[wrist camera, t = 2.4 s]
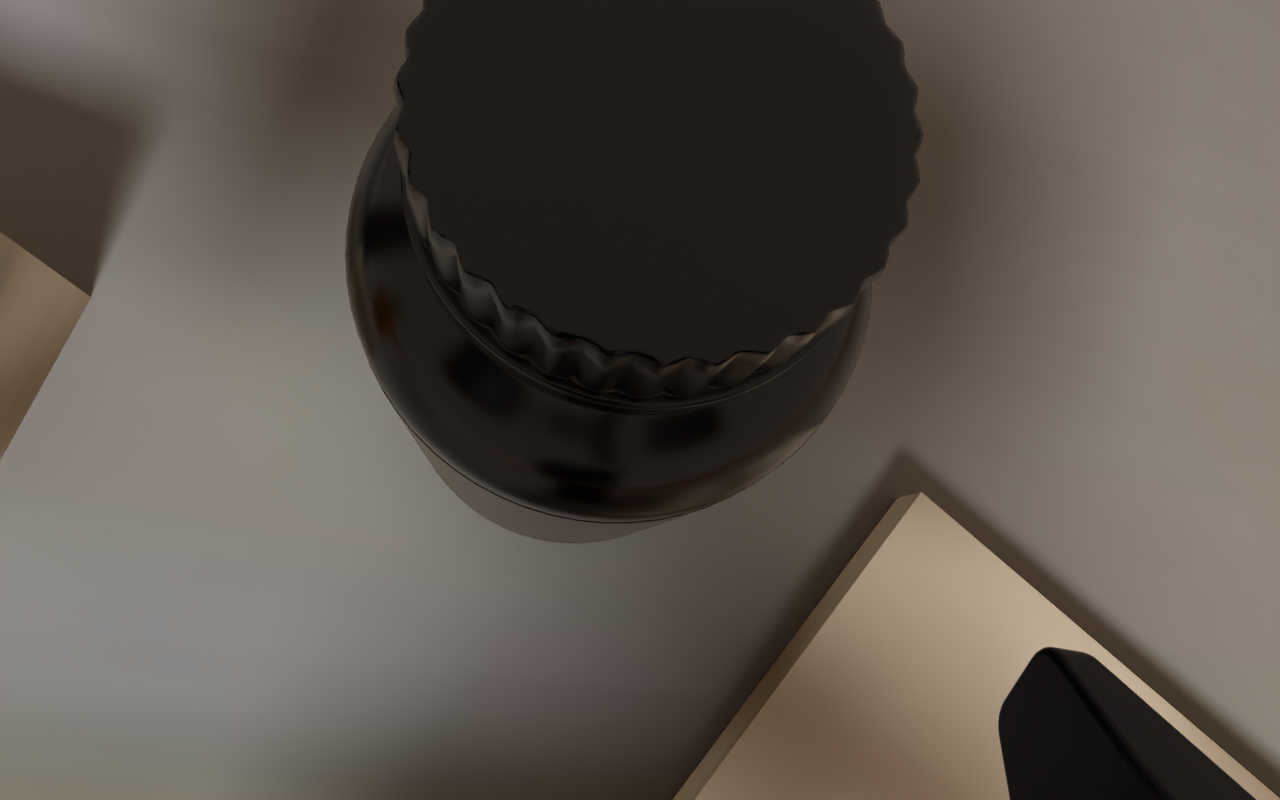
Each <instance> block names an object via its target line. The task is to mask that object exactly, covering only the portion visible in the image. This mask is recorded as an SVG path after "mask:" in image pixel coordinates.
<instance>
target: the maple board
mask: <svg viewBox="0 0 1280 800" xmlns="http://www.w3.org/2000/svg"><path fill="white" fill-rule="evenodd" d="M1045 647H1056V648H1062V649H1068V650H1074V651H1080V652H1084V653H1087V654H1090V655H1091V656H1093V657H1095V658H1096V659H1097V660H1099V661H1100V662H1101V663H1102V664H1103V665H1104V666H1105V667H1106V668H1108V669H1109V670H1110V671H1111V672H1112V673H1113V674H1114V675H1116V676H1117V677H1118V678H1119V679H1120V680H1121V681H1122V682H1123V683H1125V684H1126V685H1127V686H1128V687H1129V688H1130V689H1131V690H1133V691H1134V692H1135V693H1136V694H1137V695H1138V696H1139V697H1141V698H1142V699H1143V700H1144V701H1145V702H1146V703H1147V704H1148V705H1150V706H1151V707H1152V708H1153V709H1154V710H1155V711H1156V712H1158V713H1159V714H1160V715H1161V716H1162V717H1163V718H1164V719H1165V720H1167V721H1168V722H1169V723H1170V724H1171V725H1172V726H1173V727H1175V728H1176V729H1177V730H1178V731H1179V732H1180V733H1181V734H1183V735H1184V736H1185V737H1186V738H1187V739H1188V740H1189V741H1190V742H1192V743H1193V744H1194V745H1195V746H1196V747H1197V748H1198V749H1200V750H1201V751H1202V752H1203V753H1204V754H1205V755H1206V756H1207V757H1209V758H1210V759H1211V760H1212V761H1213V762H1214V763H1215V764H1217V765H1218V766H1219V767H1220V768H1221V769H1222V770H1223V771H1225V772H1226V773H1227V774H1228V775H1229V776H1230V777H1231V778H1232V779H1234V780H1235V781H1236V782H1237V783H1238V784H1239V785H1240V786H1242V787H1243V788H1244V789H1245V790H1246V791H1247V792H1248V793H1250V794H1251V795H1252V796H1253V797H1254V798H1255V799H1256V800H1280V798H1279V797H1278V796H1276V795H1275V794H1274V793H1273V792H1272V791H1271V790H1269V789H1268V788H1267V787H1266V786H1265V785H1264V784H1262V783H1261V782H1260V781H1259V780H1258V779H1257V778H1255V777H1254V776H1253V775H1252V774H1251V773H1250V772H1248V771H1247V770H1246V769H1245V768H1244V767H1243V766H1241V765H1240V764H1239V763H1238V762H1237V761H1235V760H1234V759H1233V758H1232V757H1231V756H1230V755H1228V754H1227V753H1226V752H1225V751H1224V750H1223V749H1221V748H1220V747H1219V746H1218V745H1217V744H1216V743H1214V742H1213V741H1212V740H1211V739H1210V738H1209V737H1207V736H1206V735H1205V734H1204V733H1203V732H1202V731H1200V730H1199V729H1198V728H1197V727H1196V726H1195V725H1193V724H1192V723H1191V722H1190V721H1189V720H1188V719H1186V718H1185V717H1184V716H1183V715H1182V714H1181V713H1179V712H1178V711H1177V710H1176V709H1175V708H1174V707H1172V706H1171V705H1170V704H1169V703H1168V702H1167V701H1165V700H1164V699H1163V698H1162V697H1161V696H1159V695H1158V694H1157V693H1156V692H1155V691H1154V690H1152V689H1151V688H1150V687H1149V686H1148V685H1147V684H1145V683H1144V682H1143V681H1142V680H1141V679H1140V678H1138V677H1137V676H1136V675H1135V674H1134V673H1133V672H1131V671H1130V670H1129V669H1128V668H1127V667H1126V666H1124V665H1123V664H1122V663H1121V662H1120V661H1119V660H1117V659H1116V658H1115V657H1114V656H1113V655H1112V654H1110V653H1109V652H1108V651H1107V650H1106V649H1105V648H1103V647H1102V646H1101V645H1100V644H1099V643H1098V642H1096V641H1095V640H1094V639H1093V638H1092V637H1090V636H1089V635H1088V634H1087V633H1086V632H1085V631H1083V630H1082V629H1081V628H1080V627H1079V626H1078V625H1076V624H1075V623H1074V622H1073V621H1072V620H1071V619H1069V618H1068V617H1067V616H1066V615H1065V614H1064V613H1062V612H1061V611H1060V610H1059V609H1058V608H1057V607H1055V606H1054V605H1053V604H1052V603H1051V602H1050V601H1048V600H1047V599H1046V598H1045V597H1044V596H1043V595H1041V594H1040V593H1039V592H1038V591H1037V590H1036V589H1034V588H1033V587H1032V586H1031V585H1030V584H1029V583H1027V582H1026V581H1025V580H1024V579H1023V578H1022V577H1020V576H1019V575H1018V574H1017V573H1016V572H1014V571H1013V570H1012V569H1011V568H1010V567H1009V566H1007V565H1006V564H1005V563H1004V562H1003V561H1002V560H1000V559H999V558H998V557H997V556H996V555H995V554H993V553H992V552H991V551H990V550H989V549H988V548H986V547H985V546H984V545H983V544H982V543H981V542H979V541H978V540H977V539H976V538H975V537H974V536H972V535H971V534H970V533H969V532H968V531H967V530H965V529H964V528H963V527H962V526H961V525H960V524H958V523H957V522H956V521H955V520H954V519H953V518H951V517H950V516H949V515H948V514H947V513H945V512H944V511H943V510H942V509H941V508H940V507H938V506H937V505H936V504H935V503H934V502H933V501H931V500H930V499H929V498H928V497H927V496H926V495H924V494H923V493H922V492H919V493H915V494H911V495H906V496H902V497H898V498H897V499H896V500H895V501H894V503H893V504H892V505H891V507H890V508H889V509H888V511H887V512H886V513H885V515H884V516H883V517H882V519H881V520H880V521H879V523H878V524H877V525H876V527H875V528H874V530H873V531H872V532H871V534H870V535H869V536H868V538H867V539H866V540H865V542H864V543H863V544H862V546H861V547H860V548H859V550H858V551H857V552H856V554H855V555H854V556H853V558H852V559H851V560H850V562H849V563H848V564H847V566H846V567H845V568H844V570H843V571H842V573H841V574H840V575H839V577H838V578H837V579H836V581H835V582H834V583H833V585H832V586H831V587H830V589H829V590H828V591H827V593H826V594H825V595H824V597H823V598H822V599H821V601H820V602H819V603H818V605H817V606H816V607H815V609H814V610H813V611H812V613H811V614H810V616H809V617H808V618H807V620H806V621H805V622H804V624H803V625H802V626H801V628H800V629H799V630H798V632H797V633H796V634H795V636H794V637H793V638H792V640H791V641H790V642H789V644H788V645H787V646H786V648H785V649H784V650H783V652H782V653H781V654H780V656H779V657H778V659H777V660H776V661H775V663H774V664H773V665H772V667H771V668H770V669H769V671H768V672H767V673H766V675H765V676H764V677H763V679H762V680H761V681H760V683H759V684H758V685H757V687H756V688H755V689H754V691H753V692H752V693H751V695H750V696H749V697H748V699H747V700H746V702H745V703H744V704H743V706H742V707H741V708H740V710H739V711H738V712H737V714H736V715H735V716H734V718H733V719H732V720H731V722H730V723H729V724H728V726H727V727H726V728H725V730H724V731H723V732H722V734H721V735H720V736H719V738H718V739H717V740H716V742H715V743H714V745H713V746H712V747H711V749H710V750H709V751H708V753H707V754H706V755H705V757H704V758H703V759H702V761H701V762H700V763H699V765H698V766H697V767H696V769H695V770H694V771H693V773H692V774H691V775H690V777H689V778H688V779H687V781H686V782H685V783H684V785H683V786H682V787H681V789H680V790H679V792H678V793H677V794H676V796H675V797H674V798H673V800H1010V798H1009V792H1008V786H1007V780H1006V774H1005V768H1004V762H1003V756H1002V750H1001V744H1000V738H999V731H998V719H999V713H1000V710H1001V706H1002V704H1003V702H1004V700H1005V699H1006V697H1007V695H1008V694H1009V692H1010V691H1011V689H1012V688H1013V686H1014V685H1015V683H1016V682H1017V680H1018V679H1019V677H1020V676H1021V674H1022V672H1023V671H1024V669H1025V668H1026V666H1027V665H1028V663H1029V662H1030V660H1031V659H1032V657H1033V656H1034V655H1035V653H1036V652H1038V651H1039V650H1041V649H1043V648H1045Z"/></svg>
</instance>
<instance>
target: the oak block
mask: <svg viewBox="0 0 1280 800" xmlns="http://www.w3.org/2000/svg"><path fill="white" fill-rule="evenodd" d="M90 298H91V297H90V296H89V295H87V294H86V293H84V292H83V291H82V290H80V289H79V288H77V287H76V286H75V285H73V284H72V283H71V282H69V281H68V280H66V279H65V278H64V277H62V276H61V275H59V274H58V273H57V272H55V271H54V270H53V269H51V268H50V267H48V266H47V265H46V264H44V263H43V262H42V261H40V260H39V259H37V258H36V257H35V256H33V255H32V254H30V253H29V252H28V251H26V250H25V249H24V248H22V247H21V246H19V245H18V244H17V243H15V242H14V241H12V240H11V239H10V238H8V237H7V236H6V235H4V234H3V233H1V232H0V460H1V458H2V456H3V454H4V452H5V451H6V449H7V447H8V445H9V443H10V442H11V440H12V438H13V436H14V434H15V433H16V431H17V429H18V427H19V425H20V424H21V422H22V420H23V418H24V417H25V415H26V413H27V411H28V409H29V408H30V406H31V404H32V402H33V400H34V399H35V397H36V395H37V393H38V391H39V390H40V388H41V386H42V384H43V382H44V381H45V379H46V377H47V375H48V373H49V372H50V370H51V368H52V366H53V364H54V363H55V361H56V359H57V357H58V355H59V354H60V352H61V350H62V348H63V346H64V345H65V343H66V341H67V339H68V337H69V336H70V334H71V332H72V330H73V328H74V327H75V325H76V323H77V321H78V319H79V318H80V316H81V314H82V312H83V310H84V309H85V307H86V305H87V303H88V301H89V300H90Z"/></svg>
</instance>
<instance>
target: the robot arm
mask: <svg viewBox="0 0 1280 800" xmlns="http://www.w3.org/2000/svg"><path fill="white" fill-rule="evenodd" d="M998 731H999V738H1000V744H1001V750H1002V756H1003V762H1004V768H1005V774H1006V780H1007V786H1008V792H1009V798H1010V800H1256V799H1255V798H1254V797H1253V796H1252V795H1251V794H1250V793H1248V792H1247V791H1246V790H1245V789H1244V788H1243V787H1242V786H1240V785H1239V784H1238V783H1237V782H1236V781H1235V780H1234V779H1232V778H1231V777H1230V776H1229V775H1228V774H1227V773H1226V772H1225V771H1223V770H1222V769H1221V768H1220V767H1219V766H1218V765H1217V764H1215V763H1214V762H1213V761H1212V760H1211V759H1210V758H1209V757H1207V756H1206V755H1205V754H1204V753H1203V752H1202V751H1201V750H1200V749H1198V748H1197V747H1196V746H1195V745H1194V744H1193V743H1192V742H1190V741H1189V740H1188V739H1187V738H1186V737H1185V736H1184V735H1183V734H1181V733H1180V732H1179V731H1178V730H1177V729H1176V728H1175V727H1173V726H1172V725H1171V724H1170V723H1169V722H1168V721H1167V720H1165V719H1164V718H1163V717H1162V716H1161V715H1160V714H1159V713H1158V712H1156V711H1155V710H1154V709H1153V708H1152V707H1151V706H1150V705H1148V704H1147V703H1146V702H1145V701H1144V700H1143V699H1142V698H1141V697H1139V696H1138V695H1137V694H1136V693H1135V692H1134V691H1133V690H1131V689H1130V688H1129V687H1128V686H1127V685H1126V684H1125V683H1123V682H1122V681H1121V680H1120V679H1119V678H1118V677H1117V676H1116V675H1114V674H1113V673H1112V672H1111V671H1110V670H1109V669H1108V668H1106V667H1105V666H1104V665H1103V664H1102V663H1101V662H1100V661H1099V660H1097V659H1096V658H1095V657H1093V656H1091V655H1090V654H1087V653H1084V652H1080V651H1074V650H1068V649H1062V648H1056V647H1045V648H1043V649H1041V650H1039V651H1038V652H1036V653H1035V655H1034V656H1033V657H1032V659H1031V660H1030V662H1029V663H1028V665H1027V666H1026V668H1025V669H1024V671H1023V672H1022V674H1021V676H1020V677H1019V679H1018V680H1017V682H1016V683H1015V685H1014V686H1013V688H1012V689H1011V691H1010V692H1009V694H1008V695H1007V697H1006V699H1005V700H1004V702H1003V704H1002V706H1001V710H1000V713H999V719H998Z"/></svg>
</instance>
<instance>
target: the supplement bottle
mask: <svg viewBox="0 0 1280 800" xmlns="http://www.w3.org/2000/svg"><path fill="white" fill-rule="evenodd" d="M404 41H405V54H406V61H405V62H404V63H403V65H402V66H401V68H400V70H399V72H398V74H397V76H396V78H395V83H394V93H395V97H396V102H397V106H396V107H395V108H394V110H393V111H392V112H391V114H390V115H389V117H388V118H387V120H386V121H385V123H384V125H383V126H382V128H381V129H380V131H379V132H378V134H377V136H376V138H375V140H374V142H373V144H372V145H371V147H370V149H369V151H368V153H367V155H366V158H365V160H364V163H363V166H362V168H361V171H360V173H359V176H358V179H357V182H356V186H355V190H354V193H353V197H352V201H351V205H350V211H349V217H348V224H347V230H346V249H345V263H346V281H347V288H348V294H349V300H350V306H351V310H352V314H353V318H354V321H355V325H356V328H357V332H358V335H359V338H360V341H361V344H362V346H363V349H364V351H365V354H366V356H367V359H368V361H369V364H370V367H371V369H372V371H373V373H374V375H375V376H376V378H377V380H378V382H379V384H380V386H381V388H382V390H383V392H384V394H385V395H386V397H387V398H388V400H389V401H390V403H391V404H392V406H393V407H394V409H395V410H396V412H397V413H398V415H399V416H400V418H401V420H402V421H403V423H404V424H405V426H406V427H407V429H408V430H409V432H410V433H411V435H412V436H413V438H414V439H415V441H416V442H417V444H418V445H419V447H420V448H421V450H422V451H423V453H424V454H425V456H426V457H427V459H428V460H429V462H430V463H431V465H432V466H433V468H434V469H435V471H436V472H437V473H438V475H439V476H440V477H441V478H442V479H443V481H444V482H445V483H446V484H447V486H448V487H449V488H450V489H451V490H452V491H453V492H454V493H455V494H456V495H457V496H458V497H459V498H460V499H461V500H462V501H463V502H465V503H466V504H467V505H468V506H470V507H471V508H472V509H473V510H474V511H476V512H477V513H479V514H480V515H482V516H483V517H485V518H486V519H488V520H490V521H491V522H493V523H495V524H497V525H499V526H501V527H503V528H505V529H508V530H510V531H513V532H515V533H517V534H520V535H524V536H527V537H531V538H534V539H539V540H544V541H549V542H559V543H589V542H598V541H604V540H609V539H614V538H619V537H622V536H626V535H629V534H632V533H635V532H638V531H641V530H644V529H647V528H650V527H652V526H655V525H658V524H661V523H664V522H667V521H670V520H673V519H676V518H678V517H681V516H684V515H687V514H690V513H693V512H696V511H698V510H701V509H704V508H706V507H709V506H711V505H713V504H716V503H718V502H720V501H723V500H725V499H727V498H729V497H731V496H733V495H735V494H737V493H738V492H740V491H742V490H744V489H746V488H747V487H749V486H751V485H752V484H754V483H756V482H757V481H759V480H760V479H762V478H763V477H765V476H766V475H767V474H769V473H770V472H772V471H773V470H774V469H776V468H777V467H779V466H780V465H781V464H783V463H784V462H785V461H786V460H787V459H788V458H789V457H791V456H792V455H793V454H794V453H795V452H796V451H797V450H799V449H800V448H801V447H802V445H803V444H804V443H805V442H806V441H807V440H808V439H809V438H810V437H811V436H812V435H813V434H814V433H815V431H816V430H817V429H818V428H819V426H820V425H821V424H822V422H823V421H824V420H825V418H826V417H827V416H828V414H829V413H830V412H831V410H832V409H833V407H834V405H835V404H836V402H837V400H838V399H839V397H840V395H841V394H842V392H843V390H844V388H845V386H846V384H847V382H848V380H849V378H850V376H851V373H852V371H853V369H854V367H855V365H856V362H857V359H858V356H859V353H860V350H861V347H862V344H863V341H864V337H865V333H866V329H867V324H868V320H869V313H870V306H871V298H872V282H874V281H875V280H876V279H877V278H878V277H879V276H880V275H881V274H882V272H883V271H884V269H885V267H886V263H887V259H888V255H889V247H890V246H891V245H892V244H893V243H894V242H895V241H896V240H897V239H898V238H899V237H900V236H901V235H902V234H903V233H904V231H905V230H906V228H907V224H908V209H907V202H908V200H909V199H910V198H911V196H912V195H913V193H914V191H915V190H916V188H917V186H918V184H919V182H920V177H919V169H918V164H917V160H916V153H917V151H918V149H919V147H920V144H921V141H922V138H923V131H922V128H921V125H920V122H919V121H918V119H917V117H916V113H915V106H916V102H917V93H918V87H917V86H916V84H915V82H914V80H913V78H912V77H911V76H910V74H909V73H908V71H907V69H906V68H905V64H904V55H905V54H904V48H903V43H902V42H901V41H900V39H899V38H898V37H897V36H896V34H895V33H894V32H893V31H892V30H891V29H890V28H889V27H888V26H887V25H886V23H885V20H884V17H883V11H882V8H881V5H880V3H879V1H878V0H423V11H422V12H421V13H420V15H419V16H418V17H417V18H415V19H414V20H413V21H412V23H411V24H410V25H409V27H408V28H407V29H406V32H405V39H404Z"/></svg>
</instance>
